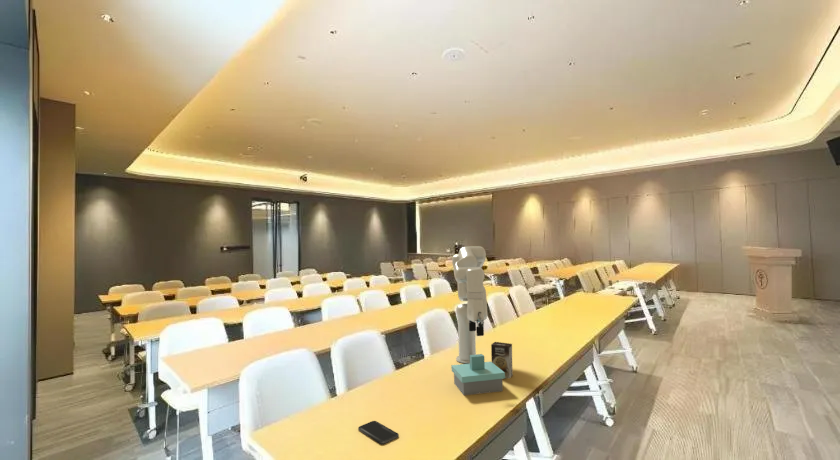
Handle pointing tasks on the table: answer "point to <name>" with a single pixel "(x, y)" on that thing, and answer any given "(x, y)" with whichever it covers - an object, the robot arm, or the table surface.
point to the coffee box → (502, 357)
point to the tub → (478, 386)
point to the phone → (378, 432)
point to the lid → (477, 370)
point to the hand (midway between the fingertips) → (476, 333)
